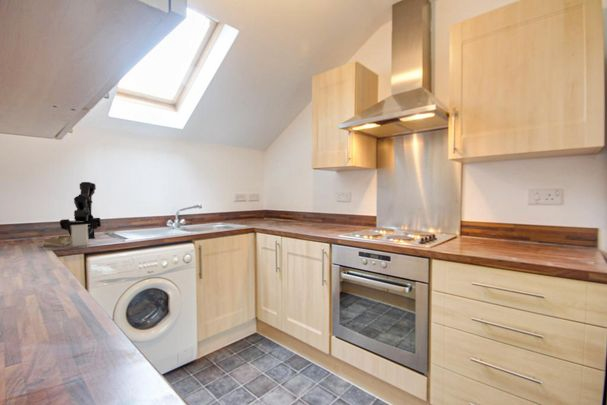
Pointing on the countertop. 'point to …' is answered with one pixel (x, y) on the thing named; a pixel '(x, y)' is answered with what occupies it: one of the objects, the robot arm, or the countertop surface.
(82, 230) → the grey tote
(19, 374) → the countertop surface
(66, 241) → the beech crate
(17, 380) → the countertop surface
